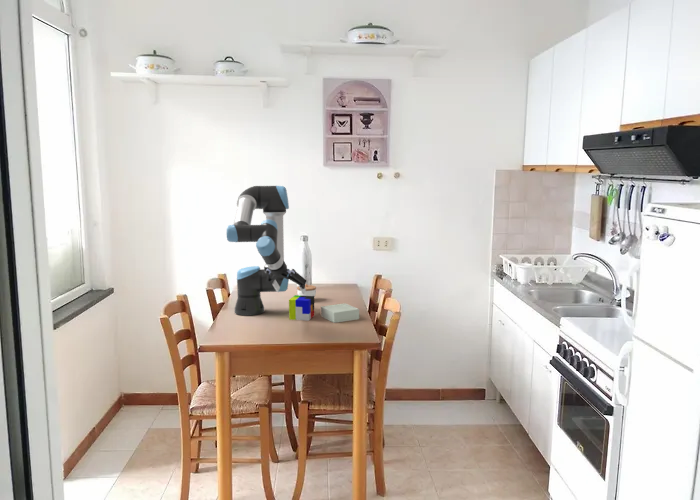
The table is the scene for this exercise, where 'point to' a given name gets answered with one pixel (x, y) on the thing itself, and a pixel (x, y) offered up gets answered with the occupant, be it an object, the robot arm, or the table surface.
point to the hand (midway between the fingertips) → (291, 290)
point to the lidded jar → (307, 290)
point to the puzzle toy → (301, 307)
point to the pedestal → (339, 313)
